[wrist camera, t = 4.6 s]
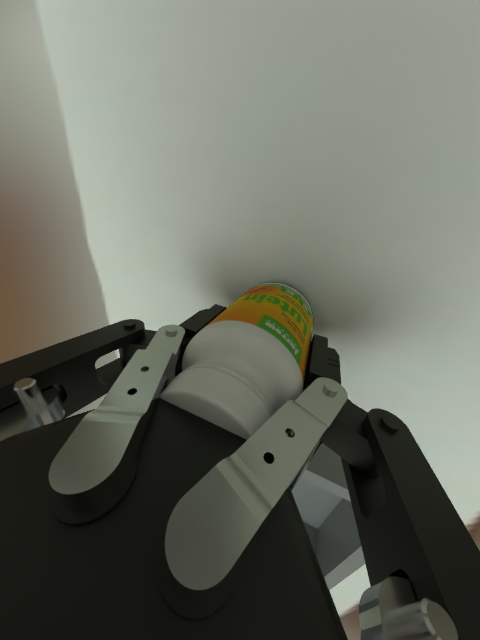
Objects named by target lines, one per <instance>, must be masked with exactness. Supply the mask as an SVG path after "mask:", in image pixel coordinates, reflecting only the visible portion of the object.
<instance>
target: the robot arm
mask: <svg viewBox="0 0 480 640" xmlns="http://www.w3.org/2000/svg"><path fill="white" fill-rule="evenodd" d="M226 309H227V307H223V306H220V305H217V304H215V305H214V306H212V307H211V308H210V309H205V310H201V311H199V312H197V313H196V314H195V315H193V316H192V317H191V318H189V319H187V320H186V321H184V322H183V323H181V324H180V325H179V326H178V325H166V326H163V327H161V328H159V329H158V331H151V330H145V326H144V323H143V322H142V321H140V320H136V319H128V320H123V321H120V322H118V323H115V324H112V325H109V326H106V327H103V328H101V329H98V330H95V331H92V332H89V333H87V334H84V335H81V336H78V337H75V338H72V339H69V340H67V341H64V342H61V343H58V344H55V345H52V346H50V347H47V348H44V349H41V350H38V351H35V352H33V353H30V354H27V355H24V356H21V357H18V358H16V359H13V360H10V361H7V362H4V363H1V364H0V640H348V639H347V636H346V634H345V631H344V628H343V626H342V623H341V621H340V618H339V615H338V613H337V610H336V607H335V605H334V602H333V599H332V597H331V594H330V591H329V589H328V586H327V584H326V581H325V578H324V576H323V573H322V570H321V568H320V565H319V562H318V560H317V557H316V555H315V552H314V549H313V547H312V544H311V541H310V539H309V536H308V533H307V531H306V528H305V525H304V523H303V520H302V518H301V515H300V512H299V510H298V507H297V504H296V502H295V499H294V496H293V494H292V491H293V489H294V487H295V486H296V484H297V483H298V481H299V479H300V478H301V476H302V474H303V473H304V471H305V469H306V468H307V466H308V465H309V463H310V462H311V460H312V458H313V457H314V455H315V454H316V452H317V451H318V449H319V448H320V446H321V444H322V443H323V444H324V445H326V446H327V447H328V448H330V449H331V450H332V451H334V452H335V453H336V454H338V455H339V456H340V457H341V461H342V466H343V470H344V474H345V478H346V483H347V487H348V491H349V495H350V500H351V504H352V508H353V512H354V517H355V521H356V525H357V529H358V534H359V538H360V542H361V547H362V551H363V555H364V559H365V564H366V568H367V572H368V576H369V581H370V585H371V587H370V588H368V589H367V590H366V591H364V593H363V594H362V596H361V599H360V605H359V618H360V628H361V640H480V551H479V549H478V548H477V546H476V544H475V543H474V541H473V539H472V537H471V535H470V534H469V532H468V530H467V529H466V527H465V525H464V523H463V522H462V520H461V518H460V517H459V515H458V513H457V511H456V510H455V508H454V506H453V505H452V503H451V501H450V499H449V498H448V496H447V494H446V492H445V491H444V489H443V487H442V486H441V484H440V482H439V480H438V479H437V477H436V475H435V474H434V472H433V470H432V468H431V467H430V465H429V463H428V461H427V460H426V458H425V456H424V455H423V453H422V451H421V449H420V448H419V446H418V444H417V443H416V441H415V439H414V437H413V436H412V434H411V432H410V430H409V429H408V427H407V426H406V425H405V424H404V423H403V422H402V421H401V420H400V419H399V418H398V417H396V416H395V415H393V414H392V413H390V412H388V411H385V410H382V409H371V410H370V411H369V412H366V411H364V410H363V409H361V408H359V407H358V406H356V405H355V404H353V403H352V402H351V401H350V400H349V399H348V395H347V392H346V390H345V389H344V387H343V386H342V385H341V375H340V363H339V362H340V360H339V355H338V353H337V352H336V350H335V349H332V348H329V347H328V338H326V337H322V336H319V335H316V334H314V336H313V338H312V341H311V344H310V350H309V356H308V362H307V368H306V374H305V380H304V386H303V392H302V394H301V395H300V396H299V397H298V398H297V399H296V400H295V401H294V400H292V399H289V400H288V401H287V402H286V403H285V404H284V405H283V406H282V407H281V408H280V409H279V410H278V411H277V412H276V413H275V414H274V415H273V416H272V417H271V418H269V419H268V420H267V421H266V422H265V423H264V424H263V425H262V426H261V427H260V428H259V429H258V430H257V431H256V432H255V433H254V434H253V435H252V436H251V437H250V438H249V439H248V440H246V439H244V438H242V437H240V436H238V435H236V434H234V433H232V432H230V431H228V430H226V429H224V428H221V427H219V426H217V425H215V424H213V423H211V422H209V421H207V420H205V419H203V418H201V417H199V416H196V415H194V414H192V413H190V412H188V411H186V410H184V409H182V408H180V407H178V406H175V405H173V404H171V403H169V402H167V401H165V400H163V399H161V398H160V394H161V393H162V392H163V391H164V390H165V389H166V387H167V386H168V385H169V384H170V383H171V382H172V381H173V380H174V378H175V377H176V376H177V375H178V374H180V373H181V372H182V360H183V355H184V352H185V350H186V347H187V345H188V344H189V342H190V341H191V339H192V338H193V337H194V336H195V335H196V334H197V333H198V332H199V331H201V330H202V329H203V328H204V327H205V326H206V325H208V324H209V323H210V322H211V321H212V320H214V319H215V318H216V317H217V316H218V315H220V314H221V313H222V312H223V311H224V310H226ZM117 349H119V353H120V358H118V359H116V360H114V361H112V362H110V363H108V364H106V365H104V366H102V367H100V368H98V369H95V362H96V360H97V359H98V358H100V357H101V356H103V355H105V354H108V353H110V352H112V351H114V350H117ZM106 393H107V395H106V396H105V397H104V399H103V400H102V402H101V403H100V405H99V406H98V407H97V409H93V410H90V411H87V412H84V413H81V414H78V415H75V416H72V417H69V418H66V417H67V416H69V415H71V414H73V413H74V412H76V411H78V410H80V409H81V408H83V407H85V406H86V405H88V404H90V403H91V402H93V401H95V400H96V399H98V398H100V397H101V396H103V395H105V394H106ZM64 418H65V419H64Z"/></svg>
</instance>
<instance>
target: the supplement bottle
mask: <svg viewBox="0 0 480 640" xmlns="http://www.w3.org/2000/svg"><path fill="white" fill-rule="evenodd" d="M312 333H313V314H312V311H311V308H310V306H309V304H308V302H307V301H306V299H305V298H304V297H303V296H302V295H301V294H300V293H299V292H298V291H296V290H295V289H293V288H291V287H289V286H287V285H284V284H280V283H263V284H259V285H257V286H255V287H253V288H251V289H250V290H248V291H247V292H246V293H244V294H243V295H242V296H241V297H240V298H239V299H237V300H236V301H235V302H234V303H233V304H232V305H230V306H229V307H228V308H227V309H226V310H224V311H223V312H222V313H221V314H220V315H218V316H217V317H216V318H215V319H214V320H212V321H211V322H210V323H209V324H208V325H206V326H205V327H204V328H203V329H202V330H201V331H199V332H198V333H197V334H196V335H195V336H194V337H193V338H192V339H191V341H190V342H189V344H188V345H187V347H186V350H185V352H184V355H183V360H182V372H181V373H180V374H178V375H177V376H176V377H175V378H174V380H173V381H172V382H171V383H170V384H169V385H168V386H167V387H166V389H165V390H164V391H163V392H162V393H161V394H160V398H161V399H163V400H165V401H167V402H169V403H171V404H173V405H175V406H178V407H180V408H182V409H184V410H186V411H188V412H190V413H192V414H194V415H196V416H199V417H201V418H203V419H205V420H207V421H209V422H211V423H213V424H215V425H217V426H219V427H221V428H224V429H226V430H228V431H230V432H232V433H234V434H236V435H238V436H240V437H242V438H244V439H246V440H248V439H249V438H250V437H251V436H252V435H253V434H254V433H255V432H256V431H257V430H258V429H259V428H260V427H261V426H262V425H263V424H264V423H265V422H266V421H267V420H268V419H269V418H271V417H272V416H273V415H274V414H275V413H276V412H277V411H278V410H279V409H280V408H281V407H282V406H283V405H284V404H285V403H286V402H287V401H288V400H289V399H292V400H294V401H295V400H296V399H297V398H298V397H299V396H300V395H301V394H302V392H303V386H304V380H305V374H306V368H307V362H308V356H309V350H310V344H311V339H312Z"/></svg>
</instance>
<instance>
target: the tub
mask: <svg viewBox="0 0 480 640" xmlns="http://www.w3.org/2000/svg"><path fill="white" fill-rule="evenodd" d="M292 494H293V496H294V499H295V502H296V504H297V507H298V510H299V512H300V515H301V518H302V520H303V523H304V525H305V528H306V531H307V533H308V536H309V539H310V541H311V544H312V547H313V549H314V552H315V555H316V557H317V560H318V562H319V565H320V568H321V570H322V573H323V576H324V578H325V581H326V584H327V586H328V589H329V590H330V589H331V588H333V587H334V586H336V585H337V584H338V583H340V582H341V581H342V580H344V579H345V578H346V577H348V576H349V575H351V574H352V573H353V572H355V571H356V570H357V569H359V568H360V567H361V566H363V565H364V564H365V559H364V555H363V551H362V547H361V542H360V538H359V534H358V529H357V525H356V521H355V517H354V512H353V508H352V504H351V500H350V495H349V491H348V487H347V483H346V478H345V474H344V470H343V466H342V461H341V457H340V456H339V455H338V454H336V453H335V452H334V451H332V450H331V449H330V448H328V447H327V446H326V445H324V444H323V443H322V444H321V446H320V448H319V449H318V451H317V452H316V454H315V455H314V457H313V458H312V460H311V462H310V463H309V465H308V466H307V468H306V469H305V471H304V473H303V474H302V476H301V478H300V479H299V481H298V483H297V484H296V486H295V487H294V489H293V491H292Z"/></svg>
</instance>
